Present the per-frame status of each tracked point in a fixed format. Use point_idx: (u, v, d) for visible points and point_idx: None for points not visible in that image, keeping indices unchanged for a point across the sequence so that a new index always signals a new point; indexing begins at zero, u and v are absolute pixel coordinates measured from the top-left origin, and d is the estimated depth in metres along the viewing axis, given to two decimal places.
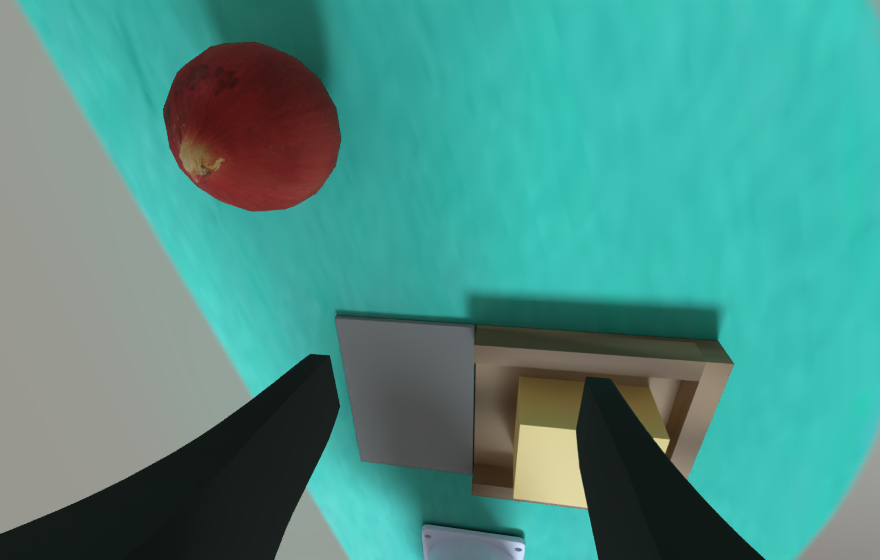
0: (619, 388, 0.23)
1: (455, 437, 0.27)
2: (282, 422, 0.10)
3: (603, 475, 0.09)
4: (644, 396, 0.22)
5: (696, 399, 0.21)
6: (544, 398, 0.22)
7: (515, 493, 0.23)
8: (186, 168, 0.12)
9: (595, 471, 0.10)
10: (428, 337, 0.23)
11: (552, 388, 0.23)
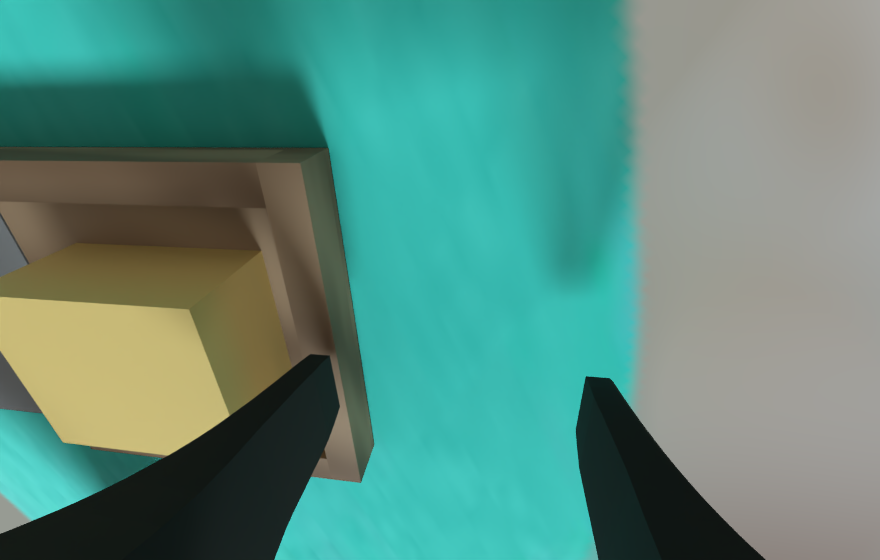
0: (210, 252, 0.13)
1: None
2: (282, 422, 0.10)
3: (603, 475, 0.09)
4: (234, 260, 0.13)
5: (282, 249, 0.12)
6: (66, 264, 0.13)
7: (58, 432, 0.14)
8: None
9: (595, 471, 0.10)
10: None
11: (101, 253, 0.14)
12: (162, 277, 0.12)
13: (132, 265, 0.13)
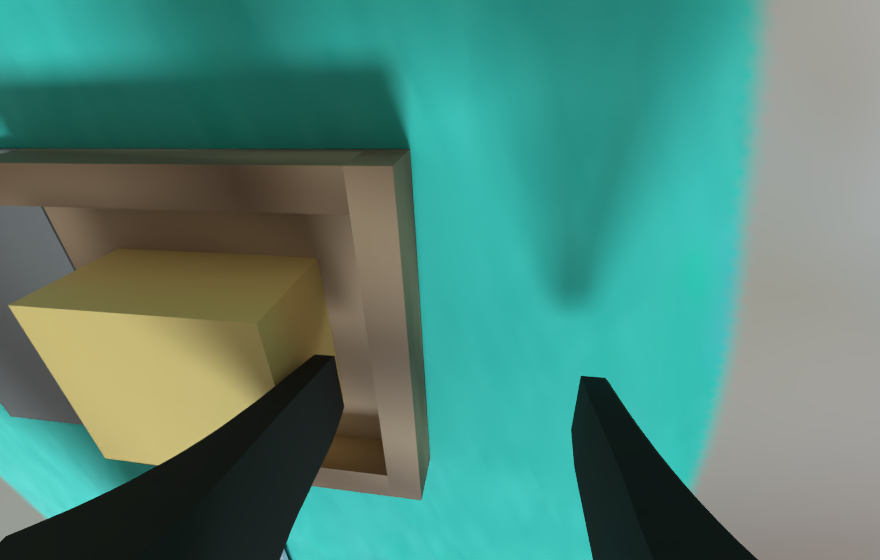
0: (264, 259, 0.13)
1: None
2: (288, 423, 0.10)
3: (597, 474, 0.09)
4: (291, 268, 0.12)
5: (362, 258, 0.11)
6: (113, 272, 0.12)
7: (100, 448, 0.13)
8: None
9: (590, 470, 0.10)
10: None
11: (148, 260, 0.13)
12: (218, 286, 0.11)
13: (183, 274, 0.12)
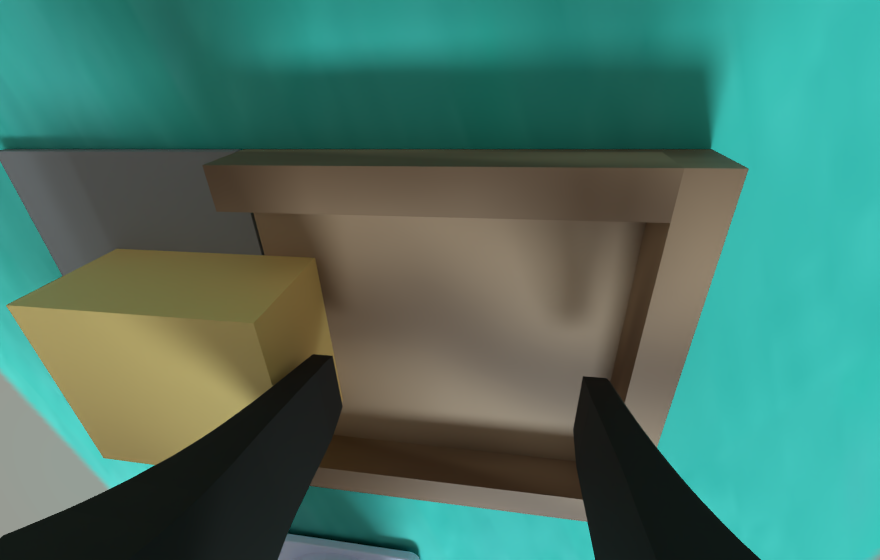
0: (261, 259, 0.13)
1: None
2: (285, 423, 0.10)
3: (599, 475, 0.09)
4: (289, 268, 0.12)
5: (665, 271, 0.10)
6: (111, 272, 0.12)
7: (99, 448, 0.13)
8: None
9: (592, 471, 0.10)
10: (163, 182, 0.12)
11: (146, 260, 0.13)
12: (216, 287, 0.11)
13: (181, 273, 0.12)
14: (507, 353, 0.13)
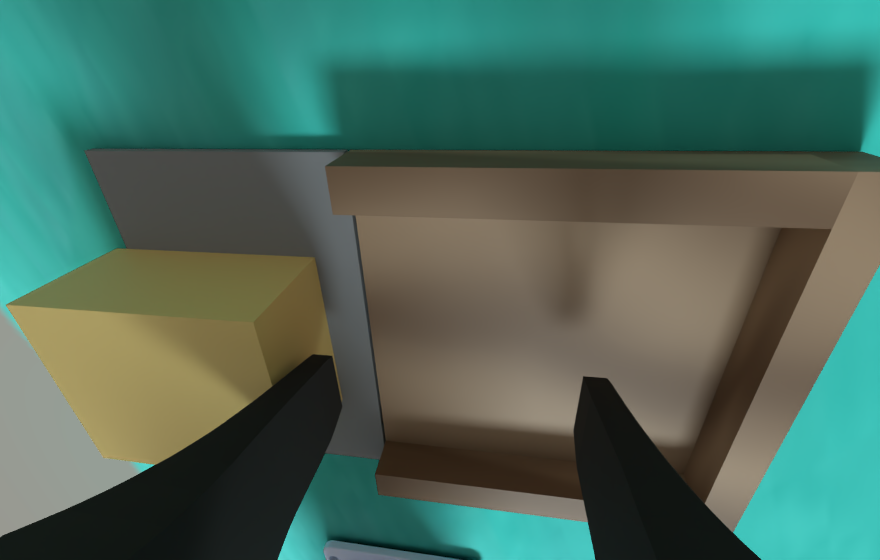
0: (261, 259, 0.13)
1: (347, 394, 0.16)
2: (285, 422, 0.10)
3: (600, 475, 0.09)
4: (289, 268, 0.12)
5: (816, 279, 0.09)
6: (111, 272, 0.12)
7: (99, 448, 0.13)
8: None
9: (592, 471, 0.10)
10: (262, 183, 0.12)
11: (146, 260, 0.13)
12: (216, 286, 0.11)
13: (181, 273, 0.12)
14: (608, 362, 0.13)
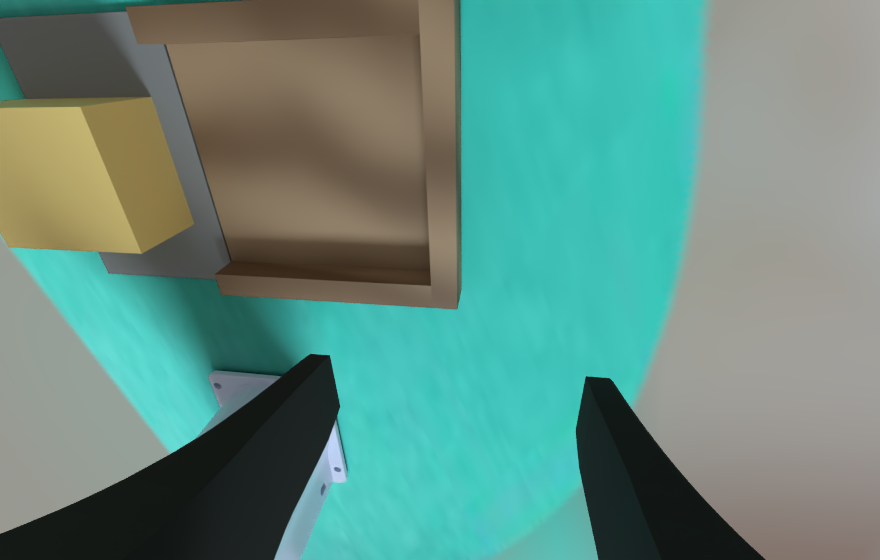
0: (114, 98, 0.18)
1: (196, 218, 0.21)
2: (282, 422, 0.10)
3: (603, 475, 0.09)
4: (128, 99, 0.18)
5: (426, 72, 0.15)
6: (7, 102, 0.18)
7: (4, 237, 0.19)
8: None
9: (595, 471, 0.10)
10: (106, 38, 0.17)
11: (34, 99, 0.18)
12: (71, 102, 0.17)
13: (53, 101, 0.18)
14: (359, 172, 0.19)
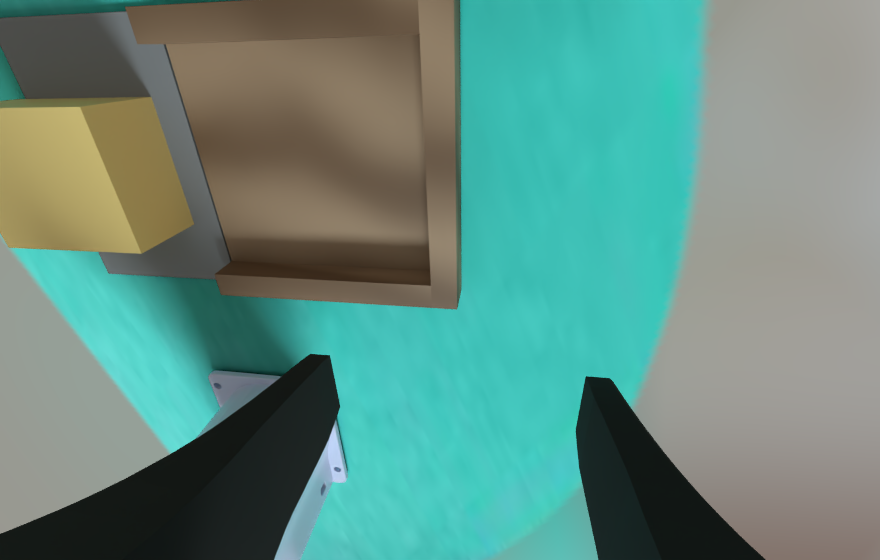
0: (114, 98, 0.18)
1: (196, 218, 0.21)
2: (282, 422, 0.10)
3: (603, 475, 0.09)
4: (128, 99, 0.18)
5: (426, 72, 0.15)
6: (6, 102, 0.18)
7: (4, 237, 0.19)
8: None
9: (595, 471, 0.10)
10: (106, 38, 0.17)
11: (34, 99, 0.18)
12: (70, 102, 0.17)
13: (53, 101, 0.18)
14: (359, 172, 0.19)
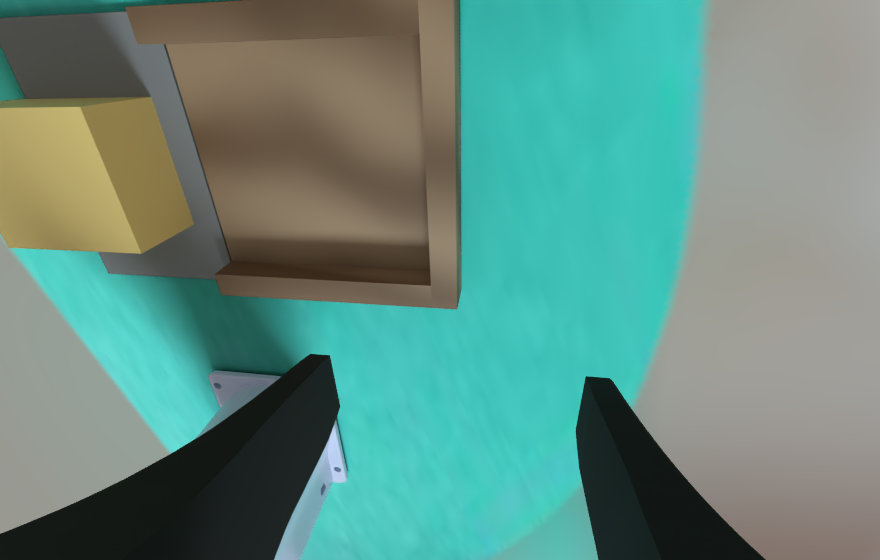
0: (114, 98, 0.18)
1: (196, 218, 0.21)
2: (282, 422, 0.10)
3: (603, 475, 0.09)
4: (128, 99, 0.18)
5: (426, 72, 0.15)
6: (6, 102, 0.18)
7: (4, 237, 0.19)
8: None
9: (595, 471, 0.10)
10: (106, 38, 0.17)
11: (34, 99, 0.18)
12: (70, 102, 0.17)
13: (53, 101, 0.18)
14: (359, 172, 0.19)
